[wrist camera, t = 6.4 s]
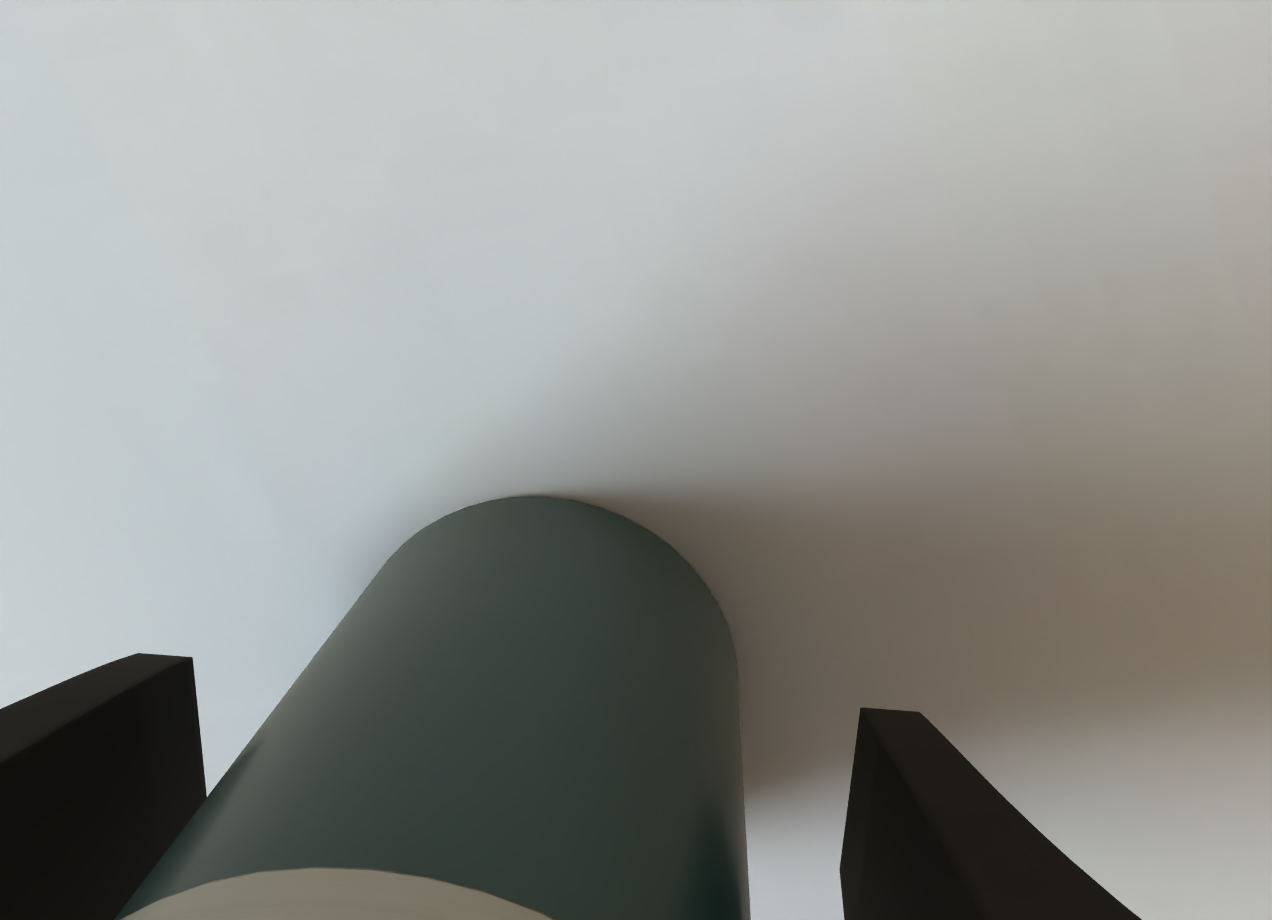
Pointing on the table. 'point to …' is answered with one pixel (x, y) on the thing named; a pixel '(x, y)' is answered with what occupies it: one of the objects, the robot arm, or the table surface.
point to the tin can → (490, 743)
